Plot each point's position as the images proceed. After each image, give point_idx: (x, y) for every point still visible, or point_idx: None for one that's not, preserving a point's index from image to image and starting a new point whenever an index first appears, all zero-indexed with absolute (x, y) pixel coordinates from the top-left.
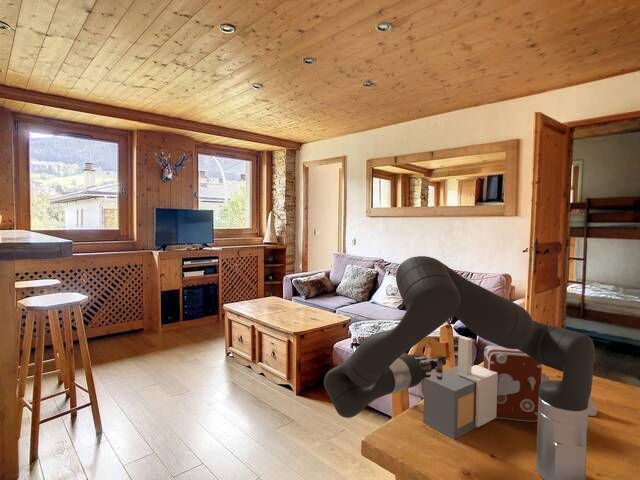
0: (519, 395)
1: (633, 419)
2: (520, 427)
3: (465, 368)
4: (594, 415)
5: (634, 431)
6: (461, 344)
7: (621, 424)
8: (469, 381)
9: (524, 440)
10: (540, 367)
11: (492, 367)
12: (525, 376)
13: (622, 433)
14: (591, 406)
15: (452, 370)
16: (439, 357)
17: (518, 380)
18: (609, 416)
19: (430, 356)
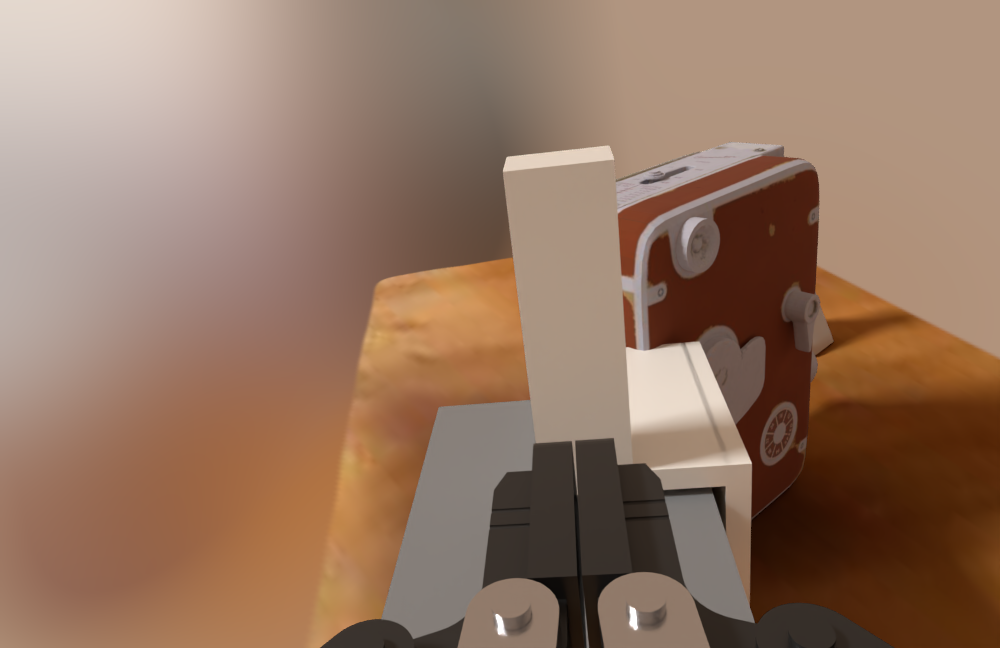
0: (758, 406)
1: (883, 300)
2: (804, 555)
3: (612, 423)
4: (832, 340)
5: (952, 334)
6: (544, 230)
7: (901, 330)
8: (674, 509)
9: (926, 632)
10: (816, 220)
11: (660, 323)
12: (776, 297)
13: (956, 357)
14: (821, 314)
15: (458, 476)
16: (601, 507)
17: (754, 333)
18: (845, 322)
19: (502, 594)
